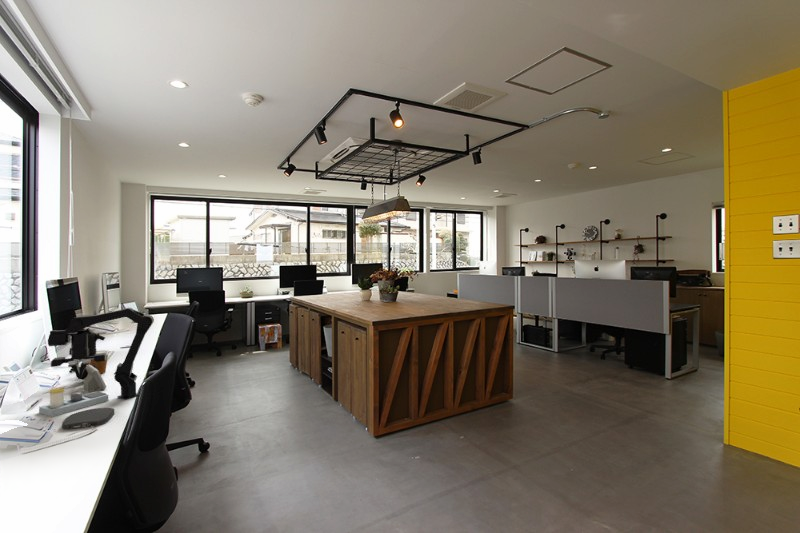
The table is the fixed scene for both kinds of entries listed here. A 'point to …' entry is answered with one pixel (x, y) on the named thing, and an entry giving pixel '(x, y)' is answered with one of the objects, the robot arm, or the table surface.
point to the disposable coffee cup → (101, 363)
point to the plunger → (76, 396)
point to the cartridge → (56, 397)
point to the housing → (71, 405)
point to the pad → (94, 394)
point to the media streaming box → (88, 418)
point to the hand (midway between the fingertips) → (79, 378)
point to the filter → (91, 349)
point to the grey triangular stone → (93, 379)
